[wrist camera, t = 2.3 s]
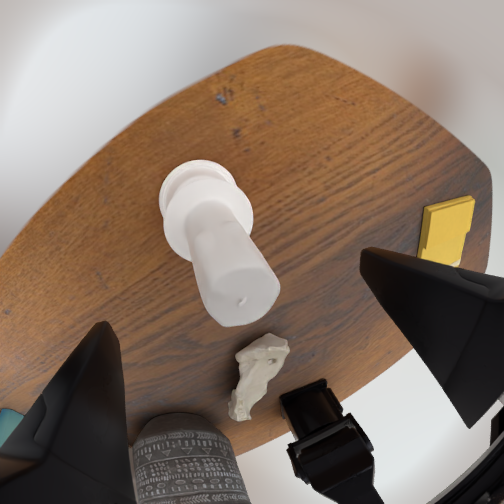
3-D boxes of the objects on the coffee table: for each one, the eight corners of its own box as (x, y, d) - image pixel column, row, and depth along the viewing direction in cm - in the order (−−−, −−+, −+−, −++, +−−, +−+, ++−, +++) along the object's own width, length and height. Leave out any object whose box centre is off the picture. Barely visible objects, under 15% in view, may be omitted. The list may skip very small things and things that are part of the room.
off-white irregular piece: (289, 325, 26) (309, 357, 22) (264, 391, 30) (277, 420, 26) (232, 327, 24) (246, 364, 20) (218, 396, 28) (227, 428, 25)
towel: (408, 297, 31) (414, 302, 30) (424, 206, 25) (432, 210, 24) (452, 273, 33) (458, 277, 32) (468, 195, 27) (475, 198, 26)
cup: (15, 390, 20) (-2, 497, 8) (62, 422, 24) (60, 523, 12) (-16, 411, 20) (-29, 491, 7) (22, 437, 24) (17, 514, 11)
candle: (143, 210, 18) (125, 337, 7) (190, 143, 17) (234, 182, 6) (207, 248, 20) (258, 382, 10) (252, 189, 19) (356, 279, 9)
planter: (203, 448, 34) (224, 520, 23) (123, 440, 28) (132, 522, 17) (240, 408, 31) (274, 498, 20) (142, 396, 25) (154, 506, 14)
